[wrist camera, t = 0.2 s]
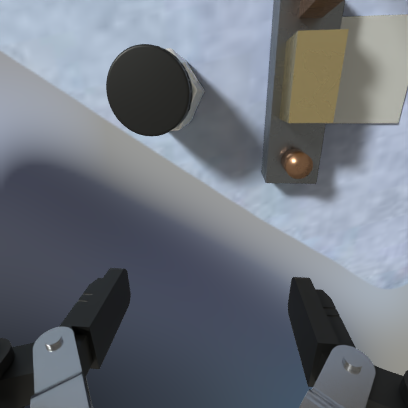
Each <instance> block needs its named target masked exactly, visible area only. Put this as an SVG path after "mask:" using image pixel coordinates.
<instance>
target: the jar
mask: <svg viewBox="0 0 408 408" xmlns="http://www.w3.org/2000/svg"><path fill="white" fill-rule="evenodd" d="M106 90H107V97H108V101H109V104H110V107H111V109H112V111H113V113H114V114H115V116H116V117H117V119H118V120H119V121H120V122H121V123H122V124H123V125H124V126H125V127H127V128H128V129H129V130H131V131H133V132H135V133H137V134H140V135H144V136H159V135H162V134H165V133H168V132H169V131H178V130H180V129H182V128H183V127H184V126H186V125H187V124H189V123H190V122H191V120H192V118H193V116H194V114H195V111H196V109H197V107H198V105H199V103H200V100H201V98H202V96H203V94H204V89H203V87H202V86H201V84H200V82H199V81H198V79H197V77H196V76H195V74H194V73H193V71H192V69H191V68H190V66H189V64H188V63H187V61H186V60H185V59H184V58H183V57H181V56H180V55H179V54H178V53H176V52H175V51H174V50H173V49H171V48H169V49H163V48H161V47H159V46H154V45H149V44H141V45H135V46H132V47H130V48H127V49H126V50H124V51H123V52H122V53H120V54H119V55H118V56H117V57H116V59H115V60H114V62H113V63H112V65H111V67H110V69H109V72H108V76H107V83H106Z"/></svg>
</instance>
